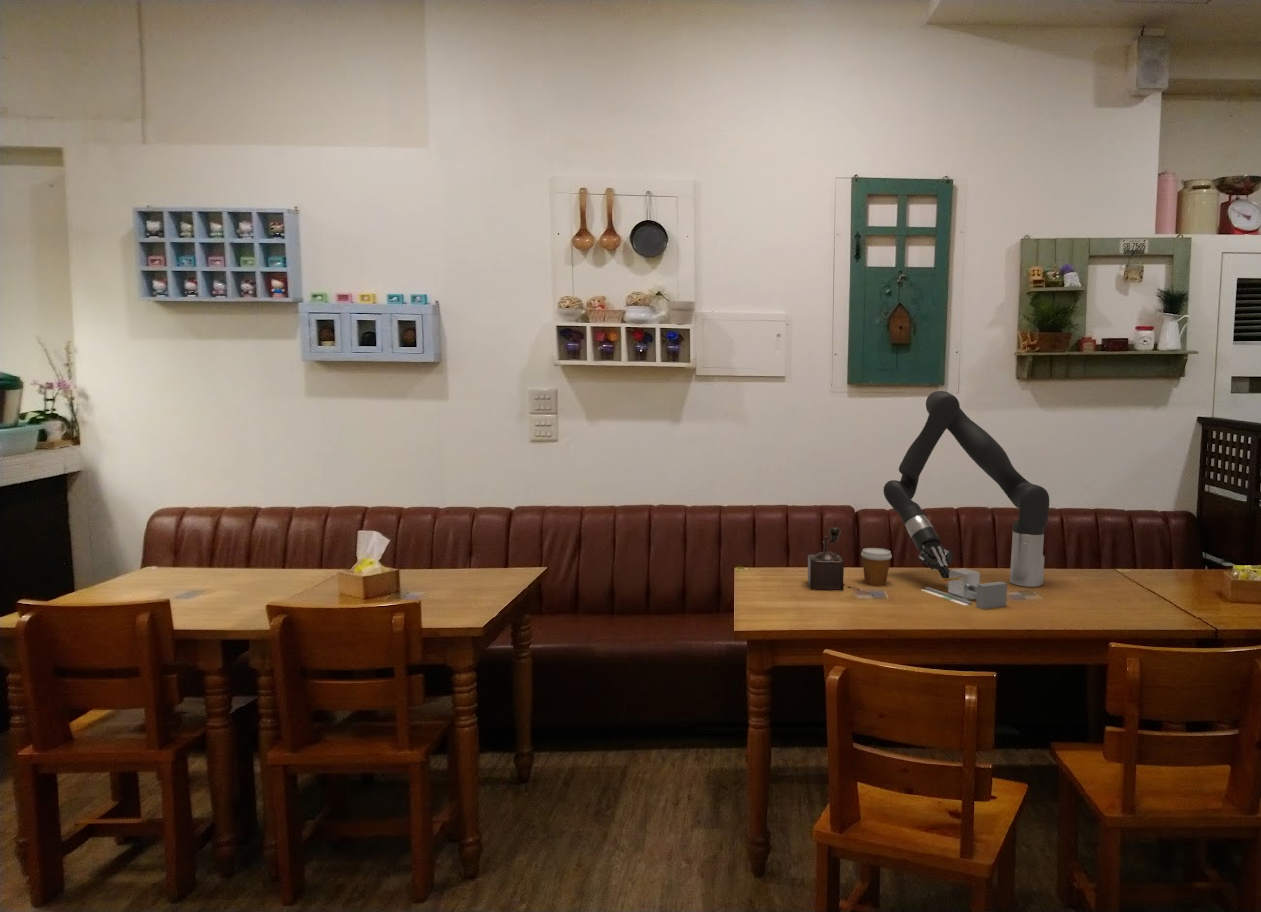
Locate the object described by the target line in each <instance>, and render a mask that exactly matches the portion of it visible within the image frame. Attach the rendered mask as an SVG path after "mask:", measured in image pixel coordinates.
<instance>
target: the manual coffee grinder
mask: <svg viewBox="0 0 1261 912" xmlns="http://www.w3.org/2000/svg"><path fill="white" fill-rule="evenodd" d="M841 533H842V532H841V529H840V528H839V527H835V526H833V527H831V528H829V529H828V534H829V535H830V540H829V537H828V535H825V536H823V541H822V544H824V545H823V547H824V550H823V551H821V552H818V553H817V554H808V555H807V585H808V587H809V588H811V589H815V590H814V591H832V590H843V591H844V574H845V573H844V569H845V563H844V561H843V559H842V557H841V555H839V554H837V553H838V552H837V551H836V552H835V553H834V552H832V551H828V544H831V543H834V544H835V543H837V542H838V541H840V540H839V536H840V534H841ZM811 589H810V590H811Z"/></svg>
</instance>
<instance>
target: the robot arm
mask: <svg viewBox="0 0 1261 912" xmlns="http://www.w3.org/2000/svg"><path fill="white" fill-rule="evenodd" d="M960 406H961V405H960V401H959V400H958V398H957V397H956V396H955V395H954V394H952V393H951V392H948V391H946V390H945V391H944V390H937V391H934V392H931V393H930V394H929V395H928V396H927V398H926V401H925V407H926V412H927V413H928V416H927V418H926V422H925V423H924V426H923V427H922V430H921V431H920V433H919V435H918V436H916V438H915V439H914V441H913V442H912V443H911V445H910V446H909V448H908V450H907V451H906V453H905V455H904V457H903V459H902V461H901V463H900V464H899V467H898V471H899V473H900V474H901V477H900V480H893V479H892V480H891V479H890V480H889V481H887V482H885V484H884V486H883V496H884V497H885V500H886V501H887V503H888V504H889V505H890V506H891V507H892V508H893V509H894V511H895V512H896V513H897V514H898V515H899V517H900V519H901V521H902V522H903V524H904V527H906V530H907V531H906V532H908V535H909V537H910V538H911V540H912V542H913V543H914V545H915V547H916V550H918V551H919V552H920V554H919V555H917V557H916V558H917V560H919V561H920V562H921V563H923V564H924V565H925V566H927V567H928V568H930V569H931V570H934V569H935V570H936V571H938V573H939V575H940V576H941V579H942V580H943V579H945V578H949V570H950V569H949V566H950V565H951V564H952V559H953V551H952V549H949V550H947V549H945V547H944V546H943V545H942V544H941V542H940V539H941V538H940V537H939V535H938V534H937V532H936V530H935V529H934V526H933V525H932V523H931V522H930V520H929V519H928V518H927V516H926V515H925V512H924V511H923V509H922V507H920V505H919V504H918V503H917V502H915V501H914V500H912V499H913V498H914V496H915V495H916V492H917V488H918V484H919V479H920V475H921V473H922V471H923V470H924V468H925V467H926V464H927V462H928V460H929V458H930V456H931V454H932V452H933V450H934V449H935V448H936V446H937V444H938V442H939V441H940V438H941V437H942V436H943V434H944V433H945V432H946V430H947V431H949V432H950V434H951V435H952V436H953V437H954V439H955V441H957V443H958V444H959V445H960V446H961V448H962V449H963V450H964V452H965V453H966V454H967V455H968V456H969V458H970V459H972V461H974V463H975V464H976V465H977V466H978V467H979V468H980V469H981V470H982V471H984V473H985V474H986V475H988V477H990V478H991V479H992V480H993V481H994V482H995V483H996V484H997V485H998V486H999V487H1000V488H1001V490H1002V491H1003V492H1004V493H1005V495H1006V496H1007V498H1008V499H1009V501H1010V502H1011V503H1012V504H1013V505H1014V506H1015V507H1016V508H1017V509H1018V510H1019V512H1018V519H1017V520H1016V521H1015V522H1013V524H1012V525H1013V526H1012V538H1011V539H1012V540H1011V541H1012V542H1011V556H1010V558H1011V559H1010V573H1009V583H1010V584H1011V585H1015V586H1020V587H1027V588H1028V587H1029V588H1037V587H1040V586H1041V585H1044V573H1045V555H1044V553H1043V552H1044V540H1045V529H1046V527H1047V524H1048V520H1049V511H1050V494H1049V492H1048V491H1047V490H1046V488H1044V487H1043V486H1041V485H1037V484H1034V483H1032V482H1029V481H1028V480H1027V479H1026V478H1024V476H1023V475H1021V474H1020V472H1019V471H1018V470H1016V469H1015V467H1014V466H1013V464H1012V462H1011V459H1010V458H1009V456H1008V454H1007V453H1006V451H1005V450H1004V448H1003V447H1002V446H1001V445H1000V444H999V443H998V441H997V440H995V439H994V438H993V437H992V436H991V435H990V434H989V433H988V432H987V431H986V430H985V429H983V428H982V427H981V426H979V425H978V424H977V423H975V422H974V420H972V419H971V418H970V417H969V416H968V415H967V414H966V413H965V412H964V411H963V410H962V408H961V407H960Z"/></svg>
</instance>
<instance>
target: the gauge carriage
mask: <svg viewBox="0 0 1261 912" xmlns="http://www.w3.org/2000/svg"><path fill="white" fill-rule="evenodd" d="M980 577H981V572H980V571H975V570H973V569H968V568H967V567H962V568H955V569H954V568H953V569H949V578H945V579H943V578H942V581H943V582H948V585H949V588H947V589H948V592H947V594H950V595H953V596H956V597H959V598H962V599H965V600H968V601H970V600H977V584H980Z"/></svg>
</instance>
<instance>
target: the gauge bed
mask: <svg viewBox="0 0 1261 912" xmlns="http://www.w3.org/2000/svg"><path fill="white" fill-rule="evenodd" d="M944 586H945V588H947V589H949V584H944ZM924 588H925V589H921V591H922V592H925V593H928V594H930V595H933V596H936V597H939V598H941V599H945V600H947V601H951V602H953V603H957V604H958V605H962V606H969V605H970V606H971V605H972V604H973V602H972V601H970V600H965V599H962V598H959V597H956V596H953V595H950V594H948V592H944V591H940V590H938V589H935V588H932V587H929V586H925V587H924ZM1007 595H1008V582H1003V581H995V582H993V581H992V582H987V583H979V584H977V599H976V603H975V604H976V605H975V607H976V608H978V609H981V610H988V609H993V608H995V609H996V608H1001V607H1002V608H1003V607H1007V597H1008V596H1007Z"/></svg>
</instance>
